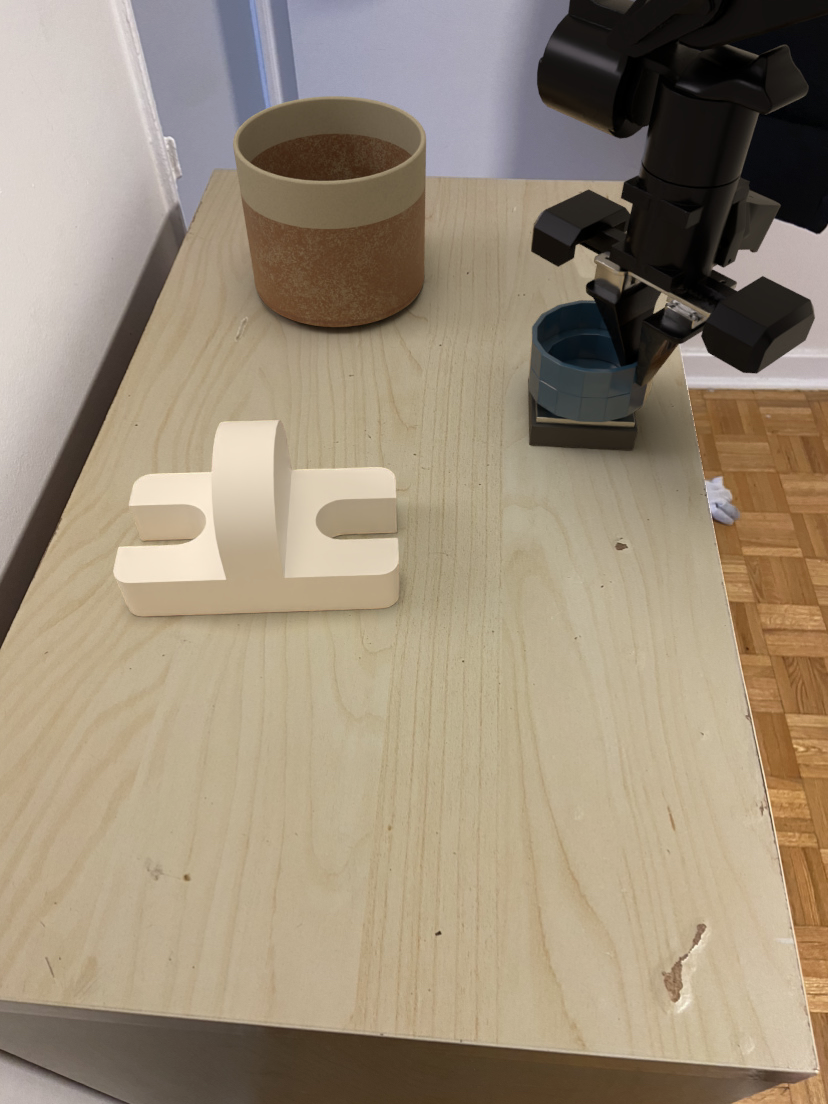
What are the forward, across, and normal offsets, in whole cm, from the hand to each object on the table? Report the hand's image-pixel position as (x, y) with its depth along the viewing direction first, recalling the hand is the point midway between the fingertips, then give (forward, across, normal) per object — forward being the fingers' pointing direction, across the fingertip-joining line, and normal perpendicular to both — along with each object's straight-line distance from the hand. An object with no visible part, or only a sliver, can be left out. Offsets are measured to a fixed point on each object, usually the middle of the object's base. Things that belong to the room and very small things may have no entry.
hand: (636, 379), depth 61 cm
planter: (+6, +32, +3) cm, 32 cm away
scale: (+6, +4, 0) cm, 8 cm away
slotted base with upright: (+6, +8, +28) cm, 29 cm away
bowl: (+3, +4, 0) cm, 5 cm away
